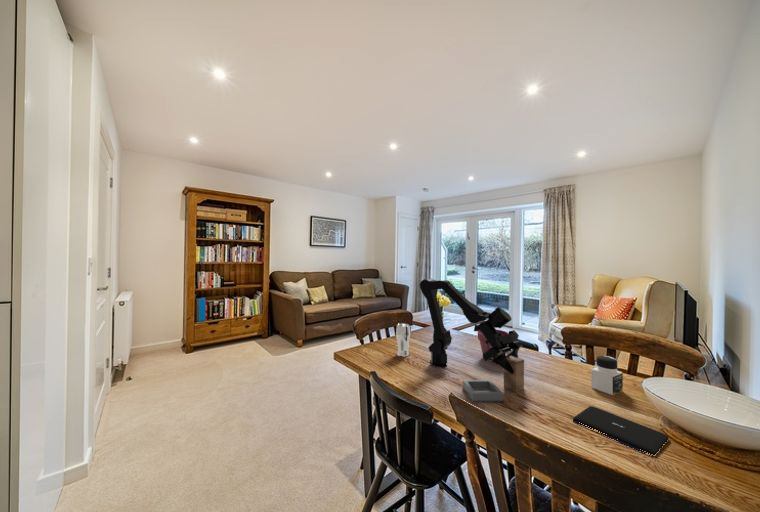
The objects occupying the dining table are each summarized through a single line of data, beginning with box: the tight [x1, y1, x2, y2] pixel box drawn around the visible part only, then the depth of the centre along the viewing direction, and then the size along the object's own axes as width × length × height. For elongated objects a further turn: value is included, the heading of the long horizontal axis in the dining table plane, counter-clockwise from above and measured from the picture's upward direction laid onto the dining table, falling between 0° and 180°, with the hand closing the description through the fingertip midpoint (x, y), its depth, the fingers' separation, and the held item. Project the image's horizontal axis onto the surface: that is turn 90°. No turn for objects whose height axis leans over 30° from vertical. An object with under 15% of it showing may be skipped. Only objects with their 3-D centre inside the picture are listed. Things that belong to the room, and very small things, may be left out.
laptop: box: [572, 405, 669, 455], centre depth 81 cm, size 16×20×2 cm
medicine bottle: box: [590, 355, 624, 396], centre depth 105 cm, size 7×7×12 cm
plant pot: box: [477, 328, 509, 362], centre depth 137 cm, size 14×14×13 cm
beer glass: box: [395, 323, 411, 358], centre depth 142 cm, size 7×7×15 cm
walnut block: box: [503, 355, 525, 393], centre depth 106 cm, size 5×5×11 cm
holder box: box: [462, 379, 504, 403], centre depth 101 cm, size 10×10×3 cm
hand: (517, 371), depth 105 cm, fingers closed on walnut block, 5 cm apart
